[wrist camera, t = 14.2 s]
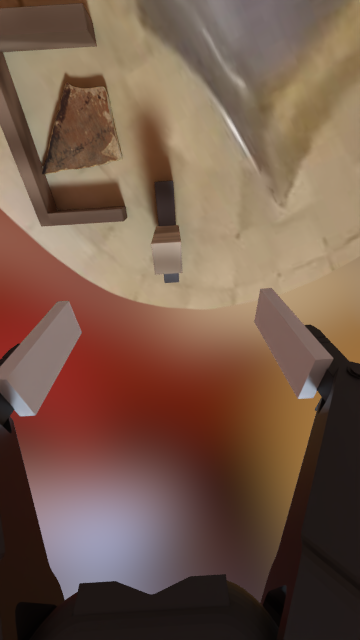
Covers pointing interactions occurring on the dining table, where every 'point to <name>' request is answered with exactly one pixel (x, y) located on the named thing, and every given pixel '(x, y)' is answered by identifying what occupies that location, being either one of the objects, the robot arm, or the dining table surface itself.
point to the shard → (82, 131)
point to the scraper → (166, 235)
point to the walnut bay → (5, 109)
